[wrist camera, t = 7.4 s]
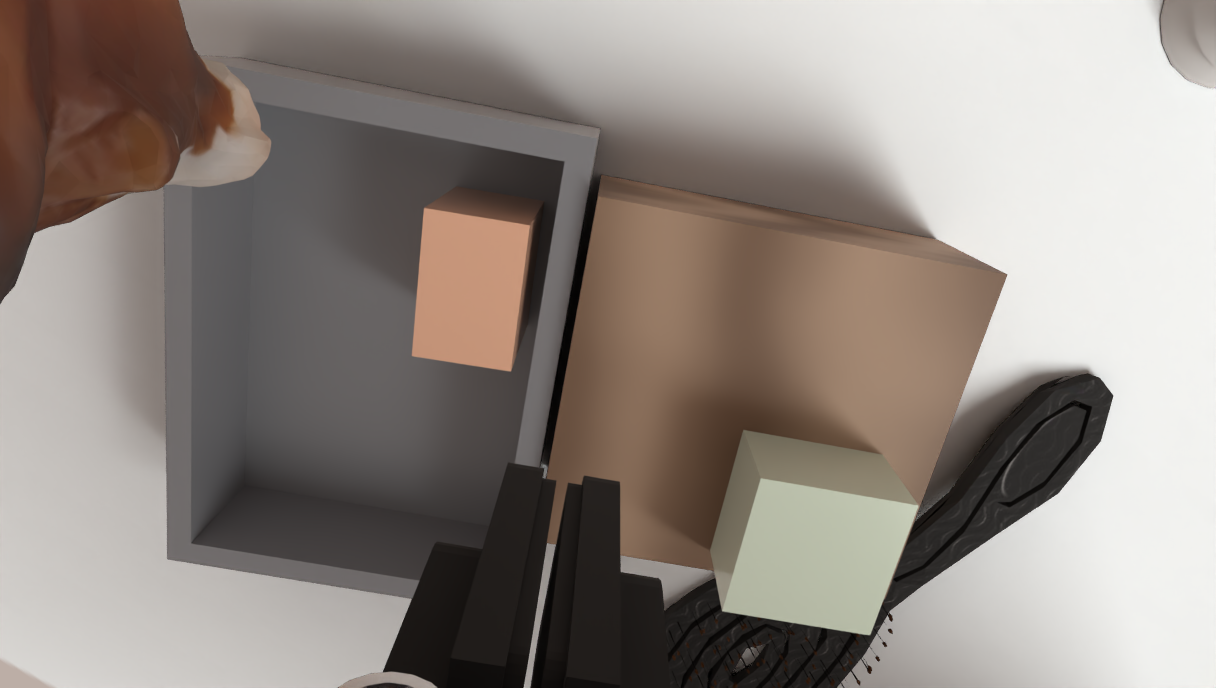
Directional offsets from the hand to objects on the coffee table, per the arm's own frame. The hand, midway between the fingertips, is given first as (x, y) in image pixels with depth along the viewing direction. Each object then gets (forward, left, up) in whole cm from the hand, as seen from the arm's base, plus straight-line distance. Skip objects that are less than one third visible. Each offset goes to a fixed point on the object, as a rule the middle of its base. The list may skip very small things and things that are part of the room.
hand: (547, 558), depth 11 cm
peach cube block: (+2, 0, -14) cm, 14 cm away
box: (+7, +3, -17) cm, 18 cm away
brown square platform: (-6, +2, -17) cm, 18 cm away
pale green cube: (-8, +5, -12) cm, 15 cm away
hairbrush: (-13, +11, -18) cm, 24 cm away
